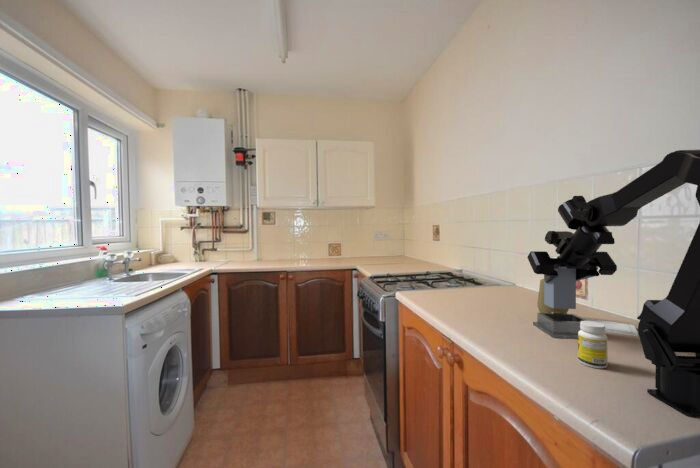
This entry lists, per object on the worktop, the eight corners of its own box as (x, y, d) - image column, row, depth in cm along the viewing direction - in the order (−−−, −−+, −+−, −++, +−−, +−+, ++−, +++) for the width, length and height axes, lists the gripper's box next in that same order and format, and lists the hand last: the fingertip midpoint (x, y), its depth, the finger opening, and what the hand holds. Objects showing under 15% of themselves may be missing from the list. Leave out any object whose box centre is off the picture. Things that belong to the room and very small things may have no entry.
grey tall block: (575, 308, 77) (575, 258, 77) (553, 308, 78) (553, 258, 78) (565, 304, 82) (565, 257, 82) (544, 304, 82) (544, 257, 82)
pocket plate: (599, 339, 74) (599, 323, 74) (552, 337, 75) (552, 321, 75) (574, 326, 84) (574, 311, 84) (533, 324, 86) (533, 310, 86)
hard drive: (577, 323, 84) (638, 332, 76) (577, 316, 90) (633, 324, 82) (577, 329, 84) (638, 338, 76) (577, 321, 90) (633, 329, 82)
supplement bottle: (583, 356, 64) (584, 318, 64) (611, 365, 60) (611, 324, 60) (573, 362, 61) (573, 322, 61) (601, 371, 57) (602, 328, 57)
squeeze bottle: (531, 317, 93) (531, 260, 93) (546, 313, 96) (547, 259, 96) (558, 324, 86) (558, 263, 85) (574, 320, 89) (574, 261, 89)
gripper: (608, 220, 75) (579, 259, 86) (530, 220, 77) (512, 258, 88) (634, 253, 67) (599, 291, 78) (547, 253, 69) (524, 290, 80)
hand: (556, 281), depth 81 cm, fingers closed on grey tall block, 5 cm apart
